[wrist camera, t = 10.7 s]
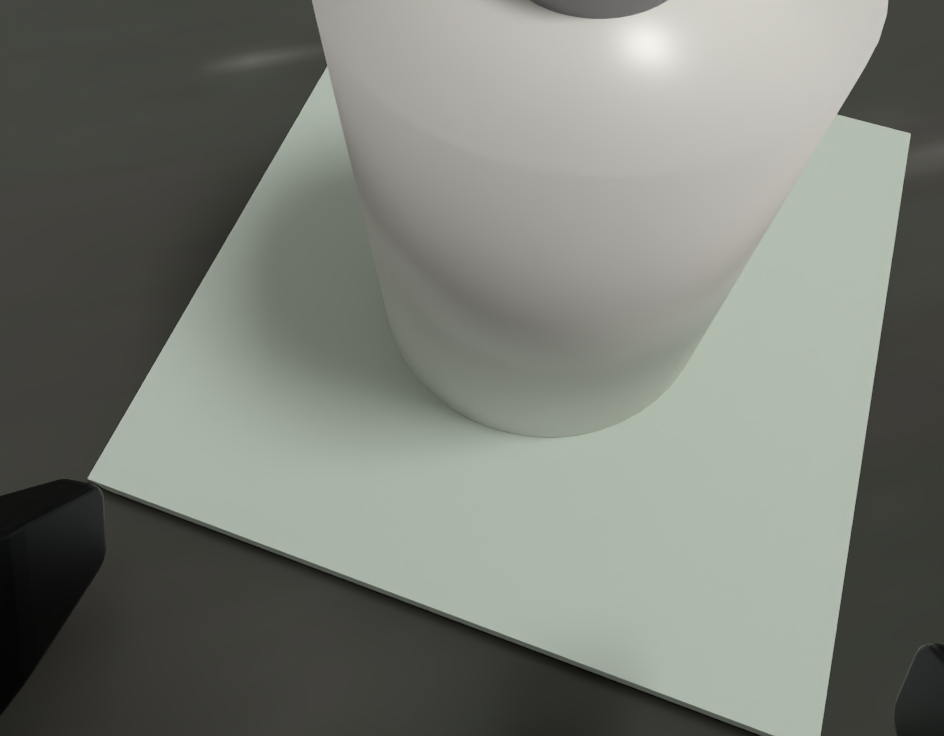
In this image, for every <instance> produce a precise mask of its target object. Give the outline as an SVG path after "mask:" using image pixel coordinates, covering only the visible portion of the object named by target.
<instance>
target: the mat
mask: <svg viewBox="0 0 944 736" xmlns="http://www.w3.org/2000/svg"><path fill="white" fill-rule="evenodd" d="M910 135H911V134H910V133H906V132H902V131H899V130H895V129H891V128H887V127H883V126H879V125H875V124H871V123H868V122H864V121H860V120H856V119H852V118H848V117H844V116H841V115H836V116H835V118H834V120H833V121H832V123H831V125H830V126H829V128H828V130H827V131H826V133H825V135H824V136H823V138H822V140H821V141H820V143H819V145H818V146H817V148H816V150H815V151H814V153H813V155H812V156H811V158H810V160H809V161H808V163H807V165H806V166H805V168H804V170H803V171H802V173H801V175H800V176H799V178H798V180H797V181H796V183H795V185H794V186H793V188H792V190H791V191H790V193H789V195H788V196H787V198H786V200H785V201H784V203H783V205H782V206H781V208H780V210H779V211H778V213H777V215H776V216H775V218H774V220H773V221H772V223H771V225H770V226H769V228H768V230H767V231H766V233H765V235H764V236H763V238H762V240H761V241H760V243H759V245H758V246H757V248H756V250H755V251H754V253H753V255H752V256H751V258H750V260H749V261H748V263H747V265H746V266H745V268H744V270H743V271H742V273H741V275H740V276H739V278H738V280H737V281H736V283H735V285H734V286H733V288H732V290H731V291H730V293H729V295H728V296H727V298H726V300H725V301H724V303H723V305H722V306H721V308H720V310H719V311H718V313H717V315H716V316H715V318H714V320H713V321H712V323H711V325H710V326H709V328H708V330H707V331H706V333H705V335H704V336H703V338H702V340H701V341H700V343H699V345H698V346H697V348H696V350H695V351H694V353H693V355H692V356H691V358H690V360H689V361H688V363H687V365H686V366H685V368H684V370H683V371H682V372H681V374H680V375H679V376H678V378H677V379H676V380H675V382H674V383H673V384H672V385H671V386H670V387H669V388H668V389H667V390H666V391H665V392H664V393H663V394H662V395H661V396H660V397H659V398H658V399H657V400H656V401H655V402H653V403H652V404H650V405H649V406H648V407H646V408H645V409H644V410H642V411H641V412H639V413H637V414H636V415H634V416H632V417H630V418H628V419H626V420H625V421H623V422H621V423H618V424H615V425H613V426H610V427H607V428H605V429H602V430H598V431H594V432H590V433H586V434H581V435H574V436H565V437H532V436H525V435H518V434H512V433H508V432H504V431H501V430H497V429H493V428H490V427H488V426H485V425H483V424H480V423H478V422H475V421H473V420H471V419H469V418H467V417H465V416H463V415H462V414H460V413H458V412H456V411H455V410H453V409H451V408H450V407H448V406H447V405H446V404H445V403H443V402H442V401H441V400H439V399H438V398H437V397H435V396H434V395H433V394H432V393H431V392H430V391H429V390H428V389H427V388H426V387H425V386H424V385H423V384H422V383H421V382H420V381H419V380H418V379H417V377H416V376H415V375H414V373H413V372H412V371H411V369H410V368H409V367H408V366H407V364H406V362H405V360H404V359H403V357H402V355H401V353H400V351H399V350H398V348H397V345H396V343H395V340H394V337H393V335H392V332H391V329H390V325H389V321H388V317H387V313H386V309H385V304H384V300H383V296H382V292H381V288H380V283H379V279H378V275H377V271H376V267H375V263H374V258H373V254H372V250H371V246H370V242H369V237H368V233H367V229H366V225H365V221H364V217H363V212H362V208H361V204H360V200H359V196H358V191H357V187H356V183H355V179H354V175H353V171H352V166H351V162H350V158H349V154H348V150H347V145H346V141H345V137H344V133H343V129H342V125H341V120H340V116H339V112H338V108H337V104H336V100H335V95H334V91H333V87H332V83H331V79H330V74H329V70H328V66H327V68H326V69H325V71H324V73H323V75H322V76H321V78H320V80H319V82H318V83H317V85H316V87H315V88H314V90H313V92H312V94H311V95H310V97H309V99H308V100H307V102H306V104H305V106H304V107H303V109H302V111H301V112H300V114H299V116H298V118H297V119H296V121H295V123H294V124H293V126H292V128H291V130H290V131H289V133H288V135H287V137H286V138H285V140H284V142H283V143H282V145H281V147H280V149H279V150H278V152H277V154H276V155H275V157H274V159H273V161H272V162H271V164H270V166H269V167H268V169H267V171H266V173H265V174H264V176H263V178H262V179H261V181H260V183H259V185H258V186H257V188H256V190H255V191H254V193H253V195H252V197H251V198H250V200H249V202H248V204H247V205H246V207H245V209H244V210H243V212H242V214H241V216H240V217H239V219H238V221H237V222H236V224H235V226H234V228H233V229H232V231H231V233H230V234H229V236H228V238H227V240H226V241H225V243H224V245H223V246H222V248H221V250H220V252H219V253H218V255H217V257H216V258H215V260H214V262H213V264H212V265H211V267H210V269H209V271H208V272H207V274H206V276H205V277H204V279H203V281H202V283H201V284H200V286H199V288H198V289H197V291H196V293H195V295H194V296H193V298H192V300H191V301H190V303H189V305H188V307H187V308H186V310H185V312H184V313H183V315H182V317H181V319H180V320H179V322H178V324H177V325H176V327H175V329H174V331H173V332H172V334H171V336H170V338H169V339H168V341H167V343H166V344H165V346H164V348H163V350H162V351H161V353H160V355H159V356H158V358H157V360H156V362H155V363H154V365H153V367H152V368H151V370H150V372H149V374H148V375H147V377H146V379H145V380H144V382H143V384H142V386H141V387H140V389H139V391H138V393H137V394H136V396H135V398H134V399H133V401H132V403H131V405H130V406H129V408H128V410H127V411H126V413H125V415H124V417H123V418H122V420H121V422H120V423H119V425H118V427H117V429H116V430H115V432H114V434H113V435H112V437H111V439H110V441H109V442H108V444H107V446H106V447H105V449H104V451H103V453H102V454H101V456H100V458H99V460H98V461H97V463H96V465H95V466H94V468H93V470H92V472H91V473H90V475H89V477H88V478H87V479H89V480H90V481H92V482H94V483H95V484H97V485H99V486H100V487H102V488H104V489H105V490H108V491H111V492H113V493H116V494H119V495H121V496H124V497H127V498H129V499H132V500H135V501H137V502H140V503H143V504H145V505H148V506H151V507H153V508H156V509H159V510H161V511H164V512H167V513H169V514H172V515H175V516H177V517H180V518H183V519H185V520H188V521H191V522H193V523H196V524H199V525H201V526H204V527H207V528H209V529H212V530H215V531H217V532H220V533H223V534H225V535H228V536H231V537H233V538H236V539H239V540H241V541H244V542H247V543H249V544H252V545H255V546H257V547H260V548H263V549H265V550H268V551H271V552H273V553H276V554H279V555H281V556H284V557H287V558H289V559H292V560H295V561H297V562H300V563H303V564H305V565H308V566H311V567H313V568H316V569H319V570H321V571H324V572H327V573H329V574H332V575H335V576H337V577H340V578H343V579H345V580H348V581H351V582H353V583H356V584H359V585H361V586H364V587H366V588H369V589H372V590H374V591H377V592H380V593H382V594H385V595H388V596H390V597H393V598H396V599H398V600H401V601H404V602H406V603H409V604H412V605H414V606H417V607H420V608H422V609H425V610H428V611H430V612H433V613H436V614H438V615H441V616H444V617H446V618H449V619H452V620H454V621H457V622H460V623H462V624H465V625H468V626H470V627H473V628H476V629H478V630H481V631H484V632H486V633H489V634H492V635H494V636H497V637H500V638H502V639H505V640H508V641H510V642H513V643H516V644H518V645H521V646H524V647H526V648H529V649H532V650H534V651H537V652H540V653H542V654H545V655H548V656H550V657H553V658H556V659H558V660H561V661H564V662H566V663H569V664H572V665H574V666H577V667H580V668H582V669H585V670H588V671H590V672H593V673H596V674H598V675H601V676H604V677H606V678H609V679H612V680H614V681H617V682H620V683H622V684H625V685H628V686H630V687H633V688H636V689H638V690H641V691H644V692H646V693H649V694H652V695H654V696H657V697H660V698H662V699H665V700H668V701H670V702H673V703H676V704H678V705H681V706H684V707H686V708H689V709H692V710H694V711H697V712H700V713H702V714H705V715H708V716H710V717H713V718H716V719H718V720H721V721H724V722H726V723H729V724H732V725H734V726H737V727H740V728H742V729H745V730H748V731H750V732H753V733H756V734H758V735H761V736H820V735H821V728H822V721H823V715H824V708H825V701H826V695H827V688H828V681H829V675H830V668H831V661H832V655H833V648H834V641H835V635H836V628H837V621H838V615H839V608H840V601H841V595H842V588H843V581H844V575H845V568H846V562H847V555H848V548H849V542H850V535H851V528H852V522H853V515H854V508H855V502H856V495H857V488H858V482H859V475H860V468H861V462H862V455H863V448H864V442H865V435H866V428H867V422H868V415H869V408H870V402H871V395H872V388H873V382H874V375H875V368H876V362H877V355H878V348H879V342H880V335H881V328H882V322H883V315H884V308H885V302H886V295H887V288H888V282H889V275H890V268H891V262H892V255H893V248H894V242H895V235H896V228H897V222H898V215H899V208H900V202H901V195H902V188H903V182H904V175H905V168H906V162H907V155H908V148H909V142H910Z"/></svg>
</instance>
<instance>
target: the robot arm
mask: <svg viewBox="0 0 944 736" xmlns="http://www.w3.org/2000/svg"><path fill="white" fill-rule="evenodd" d="M105 551H106V535H105V513H104V497H103V493H102V491H101V489H100V488H99V487H98V486H97V485H95V484H90V483H85V482H80V481H75V480H69V479H60V480H56V481H52V482H49V483H45V484H41V485H38V486H34V487H31V488H27V489H24V490H20V491H16V492H13V493H9V494H6V495H2V496H0V715H1V714H2V713H3V712H4V710H5V709H6V708H7V707H8V705H9V704H10V703H11V701H12V700H13V699H14V697H15V696H16V695H17V693H18V692H19V691H20V689H21V688H22V687H23V685H24V684H25V683H26V681H27V680H28V678H29V677H30V675H31V674H32V673H33V671H34V670H35V668H36V667H37V665H38V664H39V662H40V661H41V659H42V658H43V656H44V654H45V653H46V651H47V650H48V648H49V647H50V645H51V644H52V642H53V640H54V639H55V637H56V636H57V634H58V633H59V631H60V630H61V628H62V627H63V625H64V623H65V622H66V620H67V619H68V617H69V616H70V614H71V613H72V611H73V610H74V608H75V606H76V605H77V603H78V602H79V600H80V599H81V597H82V596H83V594H84V592H85V591H86V589H87V588H88V586H89V585H90V583H91V582H92V580H93V579H94V577H95V575H96V574H97V572H98V571H99V569H100V567H101V565H102V562H103V560H104V556H105ZM893 720H894V727H895V732H896V736H944V645H941V644H936V643H927V644H924V645H922V646H921V647H920V648H919V649H918V650H917V652H916V654H915V656H914V658H913V661H912V663H911V665H910V668H909V670H908V672H907V675H906V677H905V679H904V682H903V684H902V686H901V689H900V691H899V694H898V696H897V698H896V701H895V705H894V710H893Z"/></svg>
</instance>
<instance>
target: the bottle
mask: <svg viewBox="0 0 944 736" xmlns="http://www.w3.org/2000/svg"><path fill="white" fill-rule="evenodd" d="M312 3H313V7H314V12H315V16H316V20H317V24H318V28H319V33H320V37H321V41H322V45H323V49H324V54H325V58H326V62H327V66H328V70H329V74H330V79H331V83H332V87H333V91H334V95H335V100H336V104H337V108H338V112H339V116H340V120H341V125H342V129H343V133H344V137H345V141H346V145H347V150H348V154H349V158H350V162H351V166H352V171H353V175H354V179H355V183H356V187H357V191H358V196H359V200H360V204H361V208H362V212H363V217H364V221H365V225H366V229H367V233H368V237H369V242H370V246H371V250H372V254H373V258H374V263H375V267H376V271H377V275H378V279H379V283H380V288H381V292H382V296H383V300H384V304H385V309H386V313H387V317H388V321H389V325H390V329H391V332H392V335H393V337H394V340H395V343H396V345H397V348H398V350H399V351H400V353H401V355H402V357H403V359H404V360H405V362H406V364H407V366H408V367H409V368H410V369H411V371H412V372H413V373H414V375H415V376H416V377H417V379H418V380H419V381H420V382H421V383H422V384H423V385H424V386H425V387H426V388H427V389H428V390H429V391H430V392H431V393H432V394H433V395H434V396H435V397H437V398H438V399H439V400H441V401H442V402H443V403H445V404H446V405H447V406H448V407H450V408H451V409H453V410H455V411H456V412H458V413H460V414H462V415H463V416H465V417H467V418H469V419H471V420H473V421H475V422H478V423H480V424H483V425H485V426H488V427H490V428H493V429H497V430H501V431H504V432H508V433H512V434H518V435H525V436H532V437H565V436H574V435H581V434H586V433H590V432H594V431H598V430H602V429H605V428H607V427H610V426H613V425H615V424H618V423H621V422H623V421H625V420H626V419H628V418H630V417H632V416H634V415H636V414H637V413H639V412H641V411H642V410H644V409H645V408H646V407H648V406H649V405H650V404H652V403H653V402H655V401H656V400H657V399H658V398H659V397H660V396H661V395H662V394H663V393H664V392H665V391H666V390H667V389H668V388H669V387H670V386H671V385H672V384H673V383H674V382H675V380H676V379H677V378H678V376H679V375H680V374H681V372H682V371H683V370H684V368H685V366H686V365H687V363H688V361H689V360H690V358H691V356H692V355H693V353H694V351H695V350H696V348H697V346H698V345H699V343H700V341H701V340H702V338H703V336H704V335H705V333H706V331H707V330H708V328H709V326H710V325H711V323H712V321H713V320H714V318H715V316H716V315H717V313H718V311H719V310H720V308H721V306H722V305H723V303H724V301H725V300H726V298H727V296H728V295H729V293H730V291H731V290H732V288H733V286H734V285H735V283H736V281H737V280H738V278H739V276H740V275H741V273H742V271H743V270H744V268H745V266H746V265H747V263H748V261H749V260H750V258H751V256H752V255H753V253H754V251H755V250H756V248H757V246H758V245H759V243H760V241H761V240H762V238H763V236H764V235H765V233H766V231H767V230H768V228H769V226H770V225H771V223H772V221H773V220H774V218H775V216H776V215H777V213H778V211H779V210H780V208H781V206H782V205H783V203H784V201H785V200H786V198H787V196H788V195H789V193H790V191H791V190H792V188H793V186H794V185H795V183H796V181H797V180H798V178H799V176H800V175H801V173H802V171H803V170H804V168H805V166H806V165H807V163H808V161H809V160H810V158H811V156H812V155H813V153H814V151H815V150H816V148H817V146H818V145H819V143H820V141H821V140H822V138H823V136H824V135H825V133H826V131H827V130H828V128H829V126H830V125H831V123H832V121H833V120H834V118H835V116H836V115H837V113H838V111H839V110H840V108H841V106H842V105H843V103H844V101H845V100H846V98H847V96H848V95H849V93H850V91H851V90H852V88H853V86H854V85H855V83H856V81H857V80H858V78H859V76H860V75H861V73H862V71H863V70H864V68H865V66H866V64H867V62H868V61H869V59H870V57H871V55H872V53H873V51H874V49H875V47H876V45H877V44H878V42H879V39H880V35H881V32H882V29H883V25H884V22H885V19H886V16H887V8H888V0H312Z"/></svg>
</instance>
